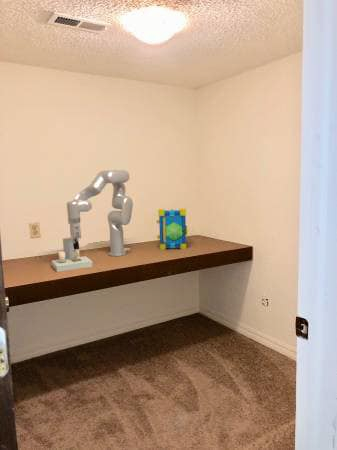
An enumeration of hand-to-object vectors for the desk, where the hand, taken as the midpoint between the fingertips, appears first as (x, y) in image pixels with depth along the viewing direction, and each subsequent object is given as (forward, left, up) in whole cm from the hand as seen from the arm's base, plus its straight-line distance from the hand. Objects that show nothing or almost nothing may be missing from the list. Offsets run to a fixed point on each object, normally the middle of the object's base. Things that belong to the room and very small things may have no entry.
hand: (76, 248), depth 234 cm
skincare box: (-1, -20, -11) cm, 23 cm away
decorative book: (-76, -11, -11) cm, 77 cm away
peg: (0, 0, -11) cm, 11 cm away
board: (+3, 0, -11) cm, 11 cm away
